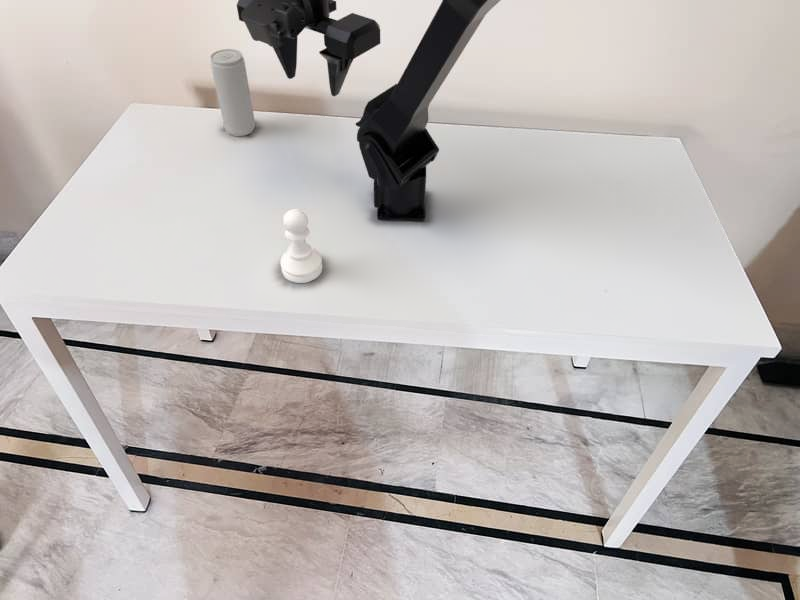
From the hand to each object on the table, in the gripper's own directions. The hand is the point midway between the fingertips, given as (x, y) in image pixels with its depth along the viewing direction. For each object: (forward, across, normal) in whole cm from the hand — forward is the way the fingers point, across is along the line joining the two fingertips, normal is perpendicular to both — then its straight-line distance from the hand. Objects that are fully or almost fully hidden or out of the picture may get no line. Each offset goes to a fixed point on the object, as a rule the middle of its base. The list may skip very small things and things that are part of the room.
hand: (313, 86), depth 80 cm
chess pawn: (+13, +12, -18) cm, 25 cm away
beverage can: (+13, -17, 0) cm, 22 cm away
